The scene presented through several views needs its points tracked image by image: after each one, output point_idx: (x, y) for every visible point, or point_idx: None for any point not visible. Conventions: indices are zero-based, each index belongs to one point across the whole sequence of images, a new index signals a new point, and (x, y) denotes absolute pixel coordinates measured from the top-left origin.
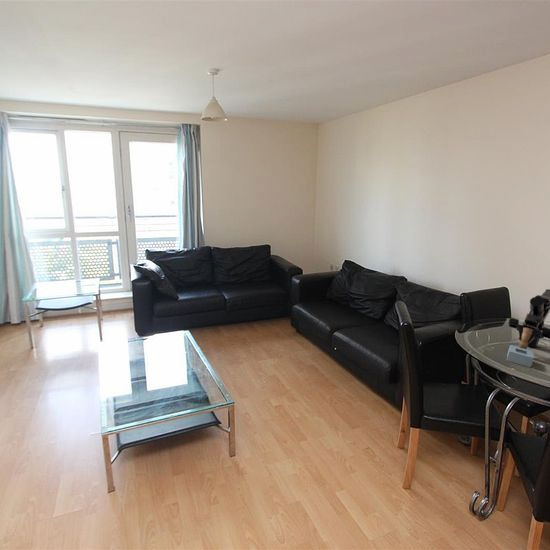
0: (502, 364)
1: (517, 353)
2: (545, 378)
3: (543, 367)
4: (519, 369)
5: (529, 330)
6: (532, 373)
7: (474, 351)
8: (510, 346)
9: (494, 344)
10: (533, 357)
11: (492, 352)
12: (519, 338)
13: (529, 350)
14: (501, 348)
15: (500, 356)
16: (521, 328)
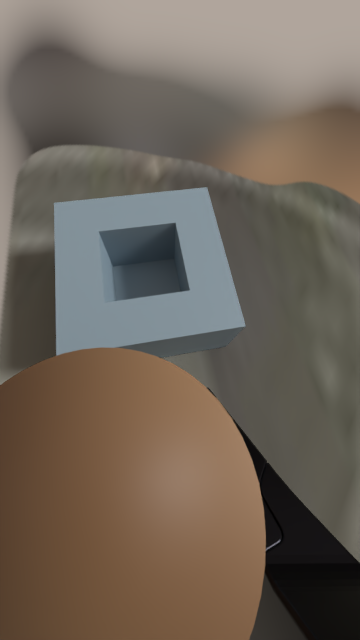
0: (199, 176)
1: (156, 193)
2: (15, 184)
3: (12, 321)
4: (127, 185)
5: (37, 369)
6: (70, 189)
7: (345, 213)
8: (230, 290)
9: (353, 465)
10: (54, 214)
11: (289, 283)
12: (210, 391)
13: (87, 345)
14: (287, 422)
15: (238, 264)
16: (330, 605)
